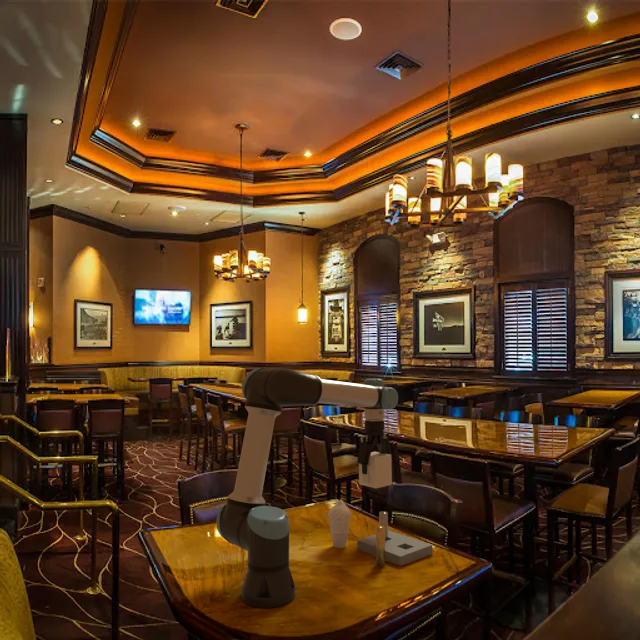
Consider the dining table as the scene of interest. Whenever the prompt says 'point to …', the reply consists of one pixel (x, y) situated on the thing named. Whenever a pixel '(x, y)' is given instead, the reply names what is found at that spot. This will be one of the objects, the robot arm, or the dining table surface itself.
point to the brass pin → (380, 545)
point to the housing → (378, 470)
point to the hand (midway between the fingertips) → (375, 480)
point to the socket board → (397, 548)
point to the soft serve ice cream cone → (339, 524)
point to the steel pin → (384, 522)
